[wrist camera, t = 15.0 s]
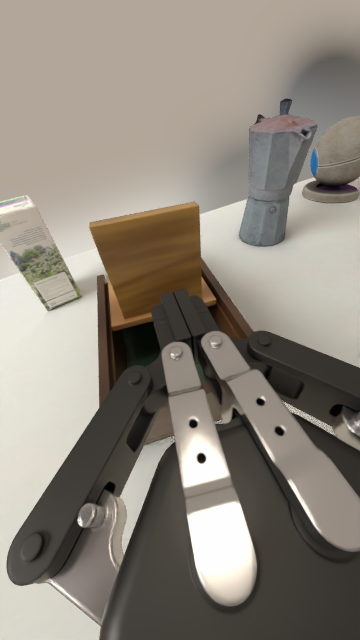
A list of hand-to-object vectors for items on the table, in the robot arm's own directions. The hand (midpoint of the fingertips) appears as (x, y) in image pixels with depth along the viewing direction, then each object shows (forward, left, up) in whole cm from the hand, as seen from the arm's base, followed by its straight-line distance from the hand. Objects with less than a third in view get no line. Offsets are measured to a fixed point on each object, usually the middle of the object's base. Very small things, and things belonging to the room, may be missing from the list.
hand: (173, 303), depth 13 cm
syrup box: (+28, -7, -13) cm, 31 cm away
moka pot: (+4, -38, -13) cm, 40 cm away
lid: (+11, -11, -7) cm, 17 cm away
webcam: (-6, -66, -13) cm, 67 cm away
